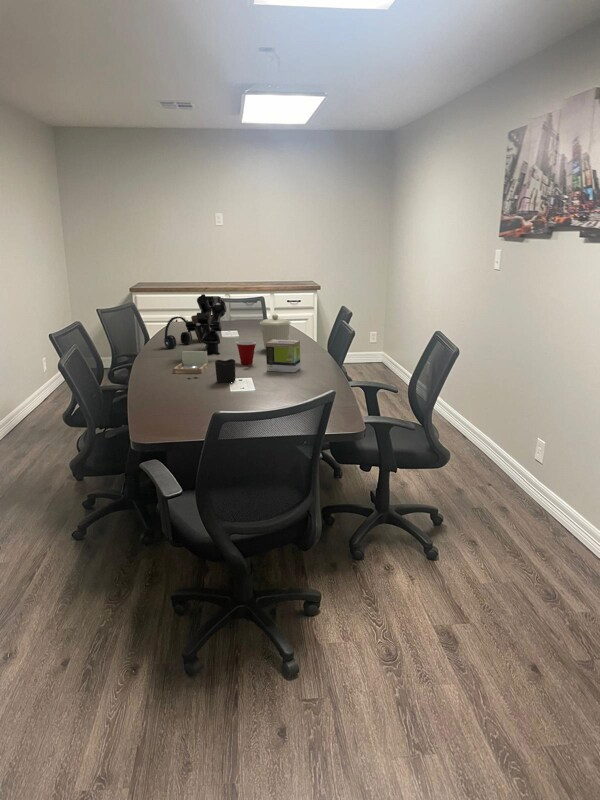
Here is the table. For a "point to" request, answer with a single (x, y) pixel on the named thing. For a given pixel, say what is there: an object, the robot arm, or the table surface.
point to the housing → (178, 370)
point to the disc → (191, 367)
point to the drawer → (194, 358)
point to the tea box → (283, 355)
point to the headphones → (171, 340)
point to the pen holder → (225, 371)
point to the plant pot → (196, 329)
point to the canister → (275, 329)
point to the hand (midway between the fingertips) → (201, 339)
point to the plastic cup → (246, 352)
